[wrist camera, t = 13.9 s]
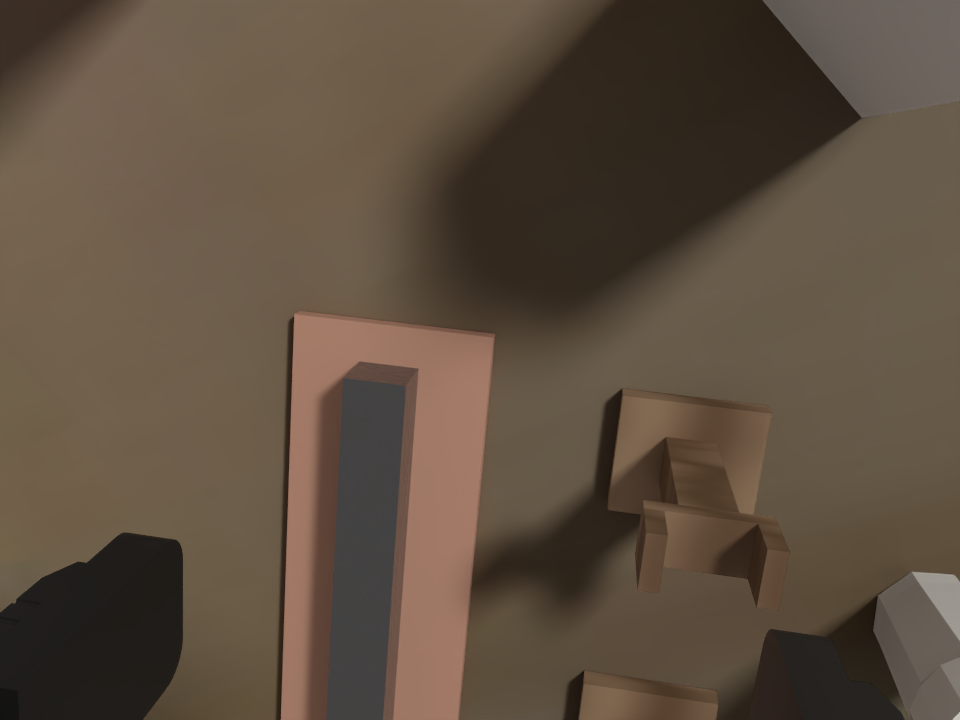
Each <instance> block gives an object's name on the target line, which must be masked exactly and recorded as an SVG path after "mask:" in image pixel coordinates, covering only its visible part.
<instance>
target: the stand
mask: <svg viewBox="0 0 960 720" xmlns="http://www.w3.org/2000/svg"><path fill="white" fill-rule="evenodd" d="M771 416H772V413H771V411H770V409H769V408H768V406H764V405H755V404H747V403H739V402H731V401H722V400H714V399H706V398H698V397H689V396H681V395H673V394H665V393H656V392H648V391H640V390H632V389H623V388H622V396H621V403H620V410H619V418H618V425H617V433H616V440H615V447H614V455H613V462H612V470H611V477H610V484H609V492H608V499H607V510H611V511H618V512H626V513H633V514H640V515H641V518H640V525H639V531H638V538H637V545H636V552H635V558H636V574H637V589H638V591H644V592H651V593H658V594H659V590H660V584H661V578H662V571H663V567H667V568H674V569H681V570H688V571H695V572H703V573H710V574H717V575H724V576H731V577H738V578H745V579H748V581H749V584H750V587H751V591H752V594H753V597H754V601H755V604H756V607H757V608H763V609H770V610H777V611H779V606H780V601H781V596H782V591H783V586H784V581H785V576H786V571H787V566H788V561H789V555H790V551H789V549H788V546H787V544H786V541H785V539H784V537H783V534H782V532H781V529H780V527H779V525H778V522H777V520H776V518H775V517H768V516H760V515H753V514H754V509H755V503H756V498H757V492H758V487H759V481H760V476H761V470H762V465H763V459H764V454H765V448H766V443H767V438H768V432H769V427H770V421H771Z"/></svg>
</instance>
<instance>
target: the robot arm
mask: <svg viewBox="0 0 960 720" xmlns="http://www.w3.org/2000/svg"><path fill="white" fill-rule="evenodd" d="M182 642H183V554H182V548H181V545H180V543H179V542H178V541H177V540H173V539H167V538H160V537H153V536H146V535H140V534H133V533H122V534H120V535H118V536H117V537H116V538H115V539H114V540H112V541H111V542H110V543H109V544H108V545H107V546H106V547H104V548H103V549H102V550H101V551H100V552H99V553H98V554H96V555H95V556H94V557H93V558H92V559H91V560H90V561H88V562H87V563H84V562H76V563H74V564H72V565H70V566H67V567H65V568H63V569H61V570H58V571H56V572H54V573H52V574H49V575H47V576H45V577H43V578H41V579H40V580H39V581H38V582H36V583H35V584H34V585H33V586H32V587H30V588H29V589H28V590H27V591H26V592H24V593H23V594H22V595H21V596H20V597H18V598H17V601H16V603H15V604H14V603H11V604H10V605H9V606H8V607H6V608H5V609H4V610H3V611H2V612H0V720H143V719H144V717H145V716H146V715H147V713H148V712H149V711H150V709H151V708H152V707H153V705H154V704H155V703H156V701H157V700H158V699H159V697H160V696H161V695H162V693H163V692H164V691H165V689H166V688H167V687H168V685H169V684H170V682H171V680H172V678H173V676H174V674H175V671H176V669H177V666H178V663H179V659H180V655H181V650H182ZM748 720H905V719H904V717H903V715H902V713H901V712H900V711H899V710H898V709H897V708H896V707H895V706H894V705H893V704H892V703H891V702H890V701H889V700H888V699H887V698H886V697H885V696H884V695H883V694H882V693H881V692H879V691H878V690H877V689H876V688H875V687H874V686H873V685H872V684H871V683H865V682H858V681H852V680H848V677H847V675H846V673H845V670H844V668H843V666H842V663H841V661H840V659H839V656H838V654H837V652H836V649H835V647H834V645H833V643H832V641H831V639H830V638H828V637H822V636H815V635H808V634H801V633H795V632H788V631H781V630H774V629H770V630H769V631H768V633H767V634H766V637H765V640H764V643H763V648H762V653H761V658H760V663H759V668H758V673H757V678H756V683H755V688H754V693H753V698H752V703H751V708H750V713H749V718H748Z"/></svg>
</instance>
